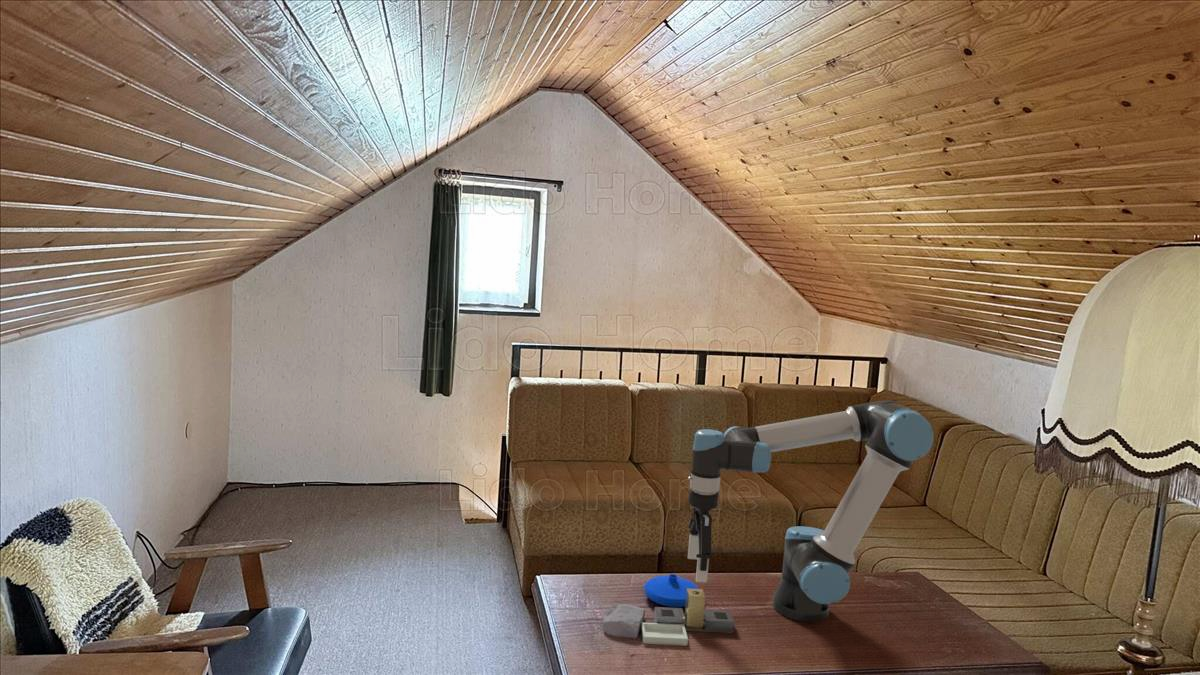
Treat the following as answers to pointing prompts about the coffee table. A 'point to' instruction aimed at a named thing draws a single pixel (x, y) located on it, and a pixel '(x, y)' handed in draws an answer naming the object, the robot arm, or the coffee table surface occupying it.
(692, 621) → the wooden drawer with knob
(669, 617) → the rack rail
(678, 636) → the parts tray
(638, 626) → the stone block
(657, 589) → the blue funnel disc
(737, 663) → the coffee table surface
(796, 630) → the coffee table surface
